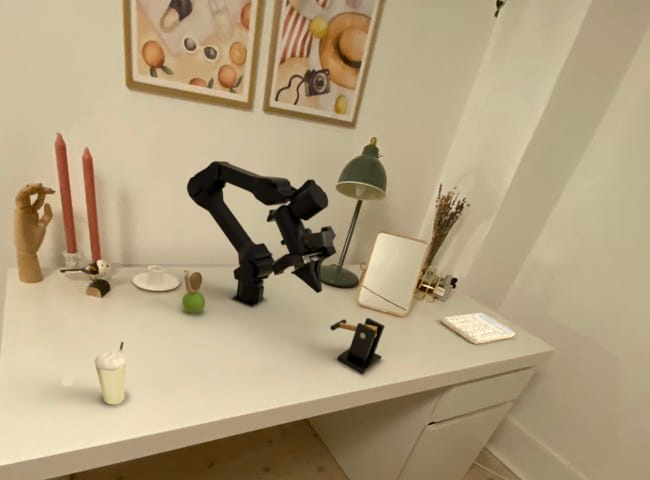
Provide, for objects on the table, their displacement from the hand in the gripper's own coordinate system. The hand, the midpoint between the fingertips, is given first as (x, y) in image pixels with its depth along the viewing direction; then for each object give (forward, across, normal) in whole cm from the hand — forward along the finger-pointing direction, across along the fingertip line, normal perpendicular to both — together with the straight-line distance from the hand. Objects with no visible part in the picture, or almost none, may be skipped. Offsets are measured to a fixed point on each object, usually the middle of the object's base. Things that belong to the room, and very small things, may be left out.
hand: (319, 292), depth 89 cm
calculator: (+30, +48, -14) cm, 58 cm away
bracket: (+19, 0, -3) cm, 19 cm away
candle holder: (-21, -16, +38) cm, 46 cm away
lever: (+12, 0, -4) cm, 13 cm away
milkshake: (+3, -48, +13) cm, 50 cm away
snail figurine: (-9, -18, +25) cm, 32 cm away
